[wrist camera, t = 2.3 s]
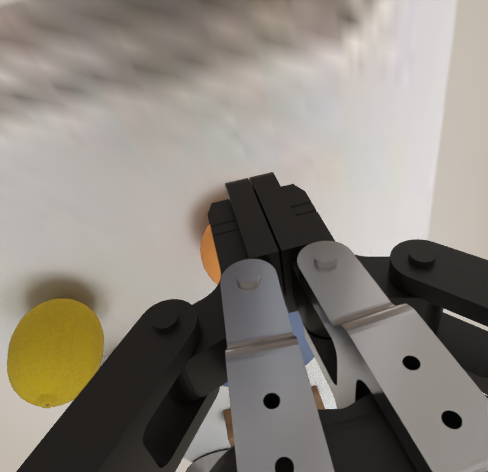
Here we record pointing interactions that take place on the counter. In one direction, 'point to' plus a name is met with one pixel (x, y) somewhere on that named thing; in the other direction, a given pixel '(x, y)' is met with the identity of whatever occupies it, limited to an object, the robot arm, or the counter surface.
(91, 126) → the counter surface
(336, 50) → the counter surface
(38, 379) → the lemon
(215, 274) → the ball
